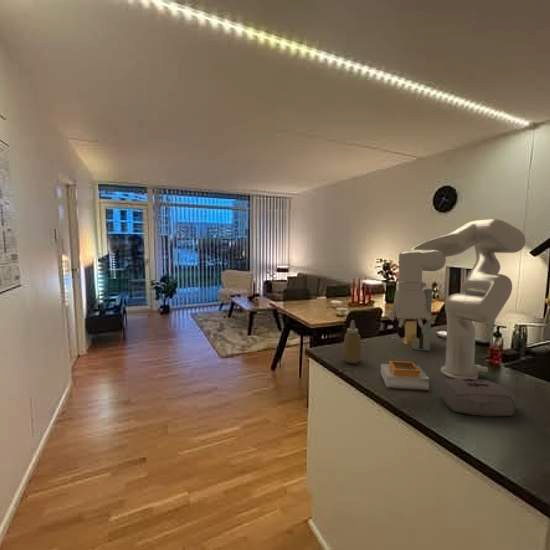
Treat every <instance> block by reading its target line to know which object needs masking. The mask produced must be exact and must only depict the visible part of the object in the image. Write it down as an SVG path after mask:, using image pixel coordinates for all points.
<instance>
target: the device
mask: <svg viewBox="0 0 550 550" xmlns="http://www.w3.org/2000/svg"><path fill="white" fill-rule="evenodd" d="M422 290H423V291H424V294H425V300H426V310H427V311H428V312H429V314H430V315H431V316H432V305H433V304H432V302H433V301H432V299H433V288H432V287H430V286H428V285H427V284H426V287H423V289H422ZM415 320H416V319H415ZM421 320H422V319H421ZM431 325H432V319H430V320H429V321H427V323H425V324H424V325H423V327H422V335H421V336H420V339H418V338H417V344H414V345H410V346H411V348H412V349H413V350H414V349H415V351H428V352H430V349H431V329H432V327H431Z"/></svg>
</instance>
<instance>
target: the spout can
mask: <svg viewBox="0 0 550 550" xmlns="http://www.w3.org/2000/svg"><path fill="white" fill-rule="evenodd" d="M402 327H403V328H404V329H403V338H401V343H402V344H405V345H410V346H411V345H414V344H417V320H415V319H404V321H403V324H402Z"/></svg>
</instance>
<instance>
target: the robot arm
mask: <svg viewBox="0 0 550 550" xmlns="http://www.w3.org/2000/svg"><path fill="white" fill-rule="evenodd" d="M525 245H526V236H525V234H524V233H523V232H522V231H521V230H520V229H519V228H517V227H516V226H513V225H512V224H510V223H508V222H506V221H503V220H501V219H499V218H498V219H497V218H487V219H479V220H478V219H477V220H471V221H468V222H466V223H464V224H462V225H461V226H459V227H457V228H455V229H454V230H452V231H451V232H449V233H447V234H445V235H441V236H437V237H435V238H432V239H430V240H425V241H424V242H421V243H420V244H419V243H418V244H417V245H415V246H414V247H412V248H410V249H409V250H404V251H401V252H400V253H399V255H398V289H396V290H395V293H394V297H393V298H394V300H393V307H392V308H393V309H392V310H391V312H390V313H389V314H388V315H387V318H388V319H389V320H390V321H392V322H393V323H394V324H396V326H397V336H398V337H399V338H400V339H402V338H403V329H404V328H403V327H402V324H403V321H404V319H416V320H417V338H418V339H420V336H421V335H422V327H423V325H424V324H425V323H427V321H429V320H430V319H431V320H432V319H433V316H432V314H431V315H430V314H429V312H428V311H427V310H426V300H425V294H424V291H423V290H422V289H423V287H426V285H427V283H426V282H423V272H424V271H425V272H437V271H438V272H439V271H440V270H442V269H443V268H444V266H445V265H446V263H447V257H453V256H457V255H461V254H463V253H464V252H466V251H467V250H469V249H470V248H472V247H474V251H475V258H476V260H475V263H474V265H473V267H472V268H471V269H470V271H469V272H468V274H467V276H466V277H465V279H464V280H463V282H462V284H461V289H462V291H463V293H460V292H459V293H453V294H450V295H449V296H447V298H446V299H445V301H444V310H445V315H446V339H445V341H446V345H445V361H444V362H445V365H443V366H441V367H440V373H441V374H443V375H444V376H446V377H448V378H450V379H462V378H463V379H467V378H471V379H478V378H479V372H482V373H488V372H489V367H488V366H481V364H476V363H475V354H476V352H475V350H476V349H475V348H476V336H477V335H476V327H475V324H474V323H478V324H479V323H480V324H485V325H486V324H491V323H493V322H494V321H495V320H496V319H497V317H498V316H499V315H500V313H501V311H502V310H503V308H504V306H505V305H506V304H507V302H508V300H509V299H510V296H511V294H512V290H513V282H512V280H511V278H510V277H509V276H507V275H504V274H501V273H500V271H501V264H500V261H499V260H498V258H497V257H496V254H495V253H499V254H510V253H511V254H513V253H517V252H521V250H523V248H524V247H525ZM394 316H395V317H396V318H397V319H396V318H395V317H394ZM421 319H422V320H421ZM473 322H474V323H473Z"/></svg>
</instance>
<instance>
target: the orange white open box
mask: <svg viewBox="0 0 550 550" xmlns="http://www.w3.org/2000/svg"><path fill="white" fill-rule="evenodd" d="M380 375H381V377H382V380H383V382H384V384H385V386H386V388H389V389H390V388H393V389H409V390H421V391H422V390H423V391H429V390H430V378H429V377H428V376H427V374H426V373H425V371H424V370H423V369H422V368H421V366H420V365H416V364H415V363H414V362H413V361H400V360H398V361H397V360H388V363H381V364H380Z"/></svg>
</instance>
